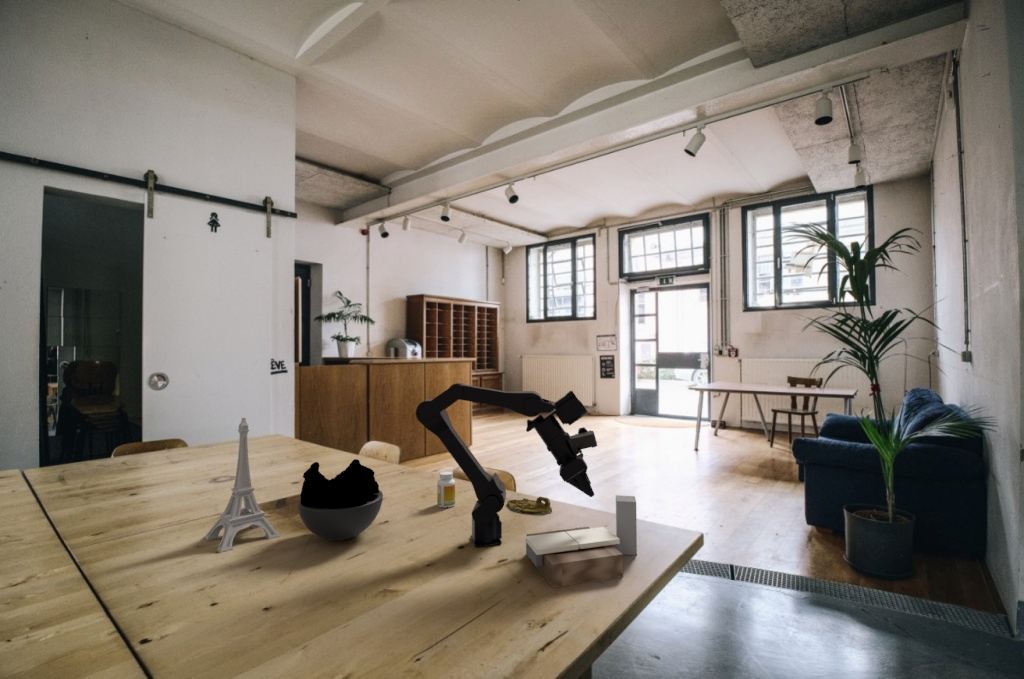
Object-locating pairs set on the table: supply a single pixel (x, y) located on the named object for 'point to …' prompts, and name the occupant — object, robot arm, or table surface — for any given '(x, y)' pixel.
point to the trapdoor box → (580, 564)
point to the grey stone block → (626, 524)
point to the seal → (530, 506)
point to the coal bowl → (339, 501)
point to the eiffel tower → (240, 502)
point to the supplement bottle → (446, 490)
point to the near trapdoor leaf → (548, 545)
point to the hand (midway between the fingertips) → (591, 490)
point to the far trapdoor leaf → (594, 538)
